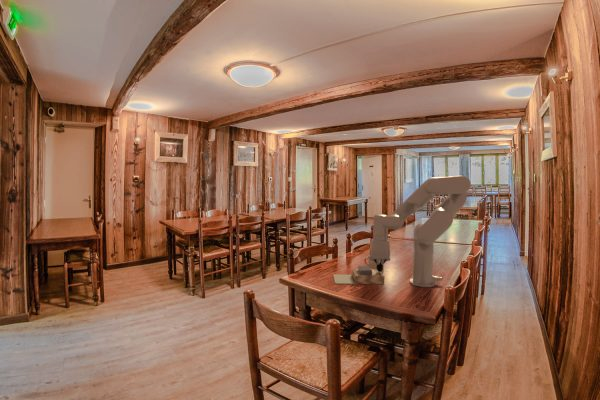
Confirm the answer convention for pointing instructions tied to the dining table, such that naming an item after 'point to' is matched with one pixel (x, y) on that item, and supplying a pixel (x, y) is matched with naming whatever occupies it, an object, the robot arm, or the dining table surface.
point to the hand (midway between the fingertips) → (379, 271)
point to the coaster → (364, 270)
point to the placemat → (343, 279)
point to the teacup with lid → (372, 263)
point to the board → (368, 277)
